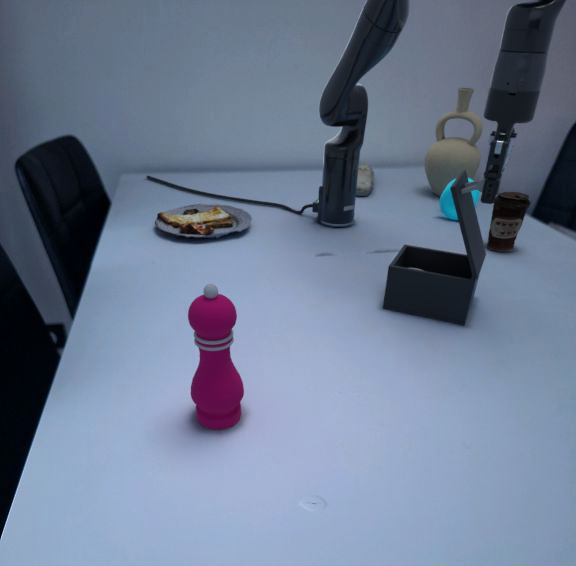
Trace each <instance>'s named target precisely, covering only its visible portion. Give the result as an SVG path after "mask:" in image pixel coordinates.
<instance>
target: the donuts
mask: <svg viewBox="0 0 576 566" xmlns="http://www.w3.org/2000/svg"><path fill="white" fill-rule="evenodd" d="M456 179H457V178H456ZM456 179H454V180H452V181H451V182H450V183H449V184H448V185H447V186H446V188H445V190H444V191H443V193H442V195H441V196H439V209H440V212H441V213H442V214H443V216H444V217H446V218H447V219H449V220H451V221H458V217H457V213H456V209H455V205H454V201H453V197H452V193H451V189H450V187H451V186H452V184H453V183H454V181H455V180H456ZM468 181H469V182H472V181H474V179H473V180H472V179H470V178H468ZM471 193H472V198H473V202H474V206H475V209H476V208H477V205H478V203H479V200H480V198H481V196H480V195H481V192H480V191H478V190H474V191H471Z"/></svg>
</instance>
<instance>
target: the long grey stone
mask: <svg viewBox="0 0 576 566" xmlns="http://www.w3.org/2000/svg"><path fill="white" fill-rule="evenodd" d="M374 174H375V173H374V170H373V168H372V167H371V166H370V165H369V164H368V163H366V162H361V161H359V168H358V179H357V190H356V196H358V197H367V196H368V195H370V194H371V192H372V190H373V187H374V186H375V183H374Z"/></svg>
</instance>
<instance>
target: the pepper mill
mask: <svg viewBox="0 0 576 566" xmlns="http://www.w3.org/2000/svg"><path fill="white" fill-rule="evenodd" d="M237 319H238V314H237V309H236V305H234V303H233V301H232V300H231V299H230V298H229V297H227V296H225V295H223V294H220V293H219V288H218V287H217V285H216V284H213V283H208V284H206V285H205V286H204V288H203V294H201V295H199V296H197V297H195V299H194V300H193V301H192V302H191V303H190V305H189V307H188V312H187V320H188V324H189V326H190V327H191V329H192V330H193V331H194V332H193V338H194V340H193V342H194V346H196V347H197V348H198V351H199V362H198V365H197V367H196V370H195V372H194V374H193V376H192V380H191V384H190V398H191V400H192V402H193V403H194V404H195V414H196V415H195V416H196V421H197V422H198V424H200V425H201V426H202V427H204V428H207V429H209V430H224V429H225V430H226V429H229V428H232V427H233V426H235V425H236V424H237V423H238V422H240V420H241V418H242V404H241V402H242V400H243V398H244V395H245V390H244V389H245V388H244V381H243V379H242V377H241V375H240V373H239V371H238V369H237V368H236V366H235V363H234V362H233V360H232V357H231V347H232V345H233V343H234V340H235V338H234V330H233V328H234V327H235V325H236V323H237Z"/></svg>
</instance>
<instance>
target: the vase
mask: <svg viewBox="0 0 576 566" xmlns="http://www.w3.org/2000/svg"><path fill="white" fill-rule="evenodd" d="M474 92H475V88H472V87H471V88H470V87H458V88H457V100H456V108H455V110H451V111H449V112H446V113H445V114H443V115H442V116H441V117H439V119H438V121H437V122H436V125H435V130H434V132H435V133H434V134H435V139H436V141H435V142H434V143H432V144H431V145H430V147H429V148H428V149H427V150H426V153H425V156H424V171H425V176H426V179H427V182H428V184H429V186H430V189H431V190H432V192H433V193H434V194H435V195H436V196H438V197H441V195H442V193H443V191H444V190H445V188H446V186H447V185H448V184H449V183H450V182H451V181H452V180H454V179H456V178H457V177H458V176H459V174H460V173H461V171H464V170H466V172H467V177H468V178H470V179H472V180H473V181H474V178H475V176H476V175H477V172H478V171H479V168H480V164H481V160H482V159H481V158H482V157H481V151H480V148H479V147H478V146H477V145H476V144H477V143H478V141H479V140H480V139H481V136H482V134H483V127H484V126H483V122H482V118H480V116H479V115H478V114H476V113H475V112H473V111H470V110H469V108H470V104H471V100H472V97H473V94H474ZM457 119H458V120H459V119H460V120H465V121H468V122H470V123H471V124H472V126H473V134H472V136H471V137H470V138H469V139H468V138H464V137H460V136H459V137H458V136H451V137H446V135H445V128H446V124H447V122H448V121H450V120H457Z"/></svg>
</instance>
